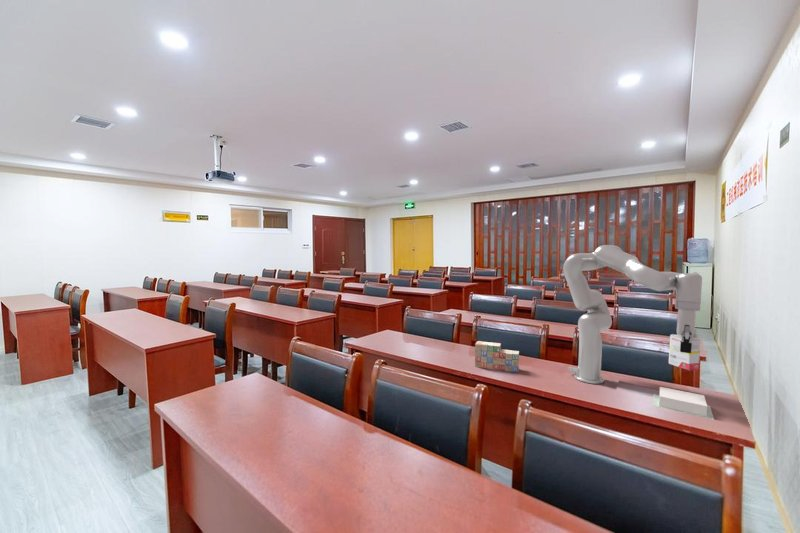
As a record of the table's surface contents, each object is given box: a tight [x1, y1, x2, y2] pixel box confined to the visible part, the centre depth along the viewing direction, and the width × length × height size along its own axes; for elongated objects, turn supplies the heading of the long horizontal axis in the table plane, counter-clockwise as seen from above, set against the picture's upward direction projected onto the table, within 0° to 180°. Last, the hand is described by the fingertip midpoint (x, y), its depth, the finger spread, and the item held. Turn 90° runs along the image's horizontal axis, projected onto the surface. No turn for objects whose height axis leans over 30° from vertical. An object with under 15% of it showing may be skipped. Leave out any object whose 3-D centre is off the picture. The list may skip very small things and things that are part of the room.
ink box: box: [668, 333, 702, 371], centre depth 138 cm, size 9×5×12 cm, turn 10°
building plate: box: [652, 393, 715, 421], centre depth 139 cm, size 18×14×1 cm
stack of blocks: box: [474, 340, 520, 373], centre depth 183 cm, size 21×6×12 cm, turn 68°
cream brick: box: [658, 386, 708, 418], centre depth 139 cm, size 14×12×4 cm
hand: (684, 349), depth 138 cm, fingers closed on ink box, 9 cm apart
